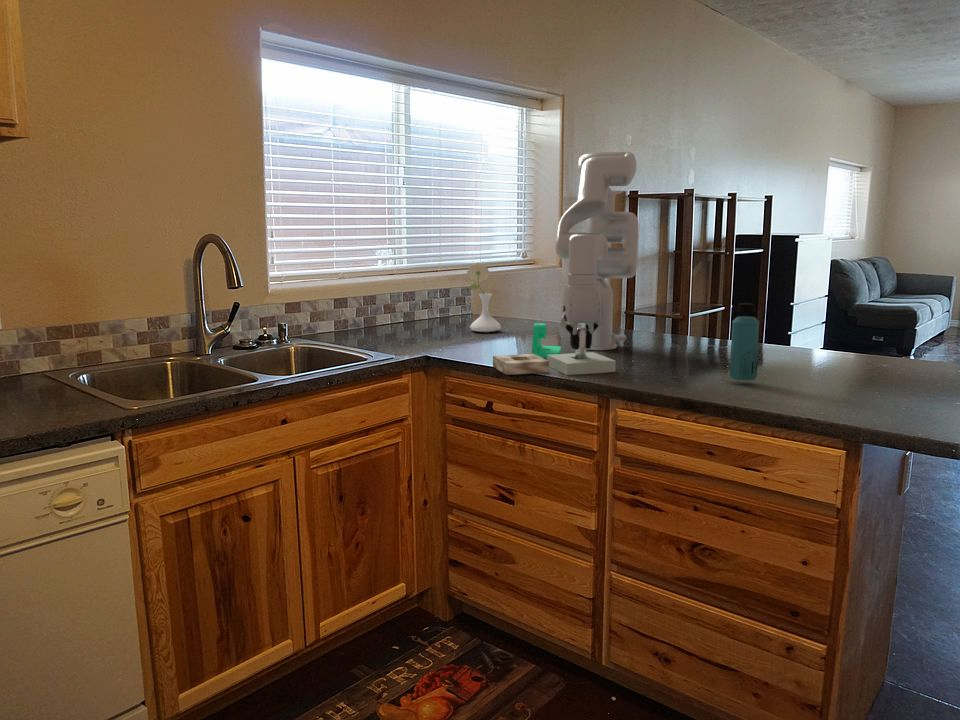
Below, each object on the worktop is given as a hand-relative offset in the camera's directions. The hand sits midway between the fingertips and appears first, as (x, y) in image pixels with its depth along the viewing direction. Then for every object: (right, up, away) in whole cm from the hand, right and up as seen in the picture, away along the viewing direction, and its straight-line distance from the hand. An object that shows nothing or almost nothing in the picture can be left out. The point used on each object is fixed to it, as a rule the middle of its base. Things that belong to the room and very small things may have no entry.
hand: (580, 347), depth 203 cm
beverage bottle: (+37, -9, -19) cm, 43 cm away
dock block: (0, -6, +1) cm, 6 cm away
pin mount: (-16, -6, 0) cm, 17 cm away
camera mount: (-8, -3, +18) cm, 20 cm away
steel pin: (0, -5, +1) cm, 5 cm away
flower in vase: (-26, +7, +70) cm, 75 cm away
